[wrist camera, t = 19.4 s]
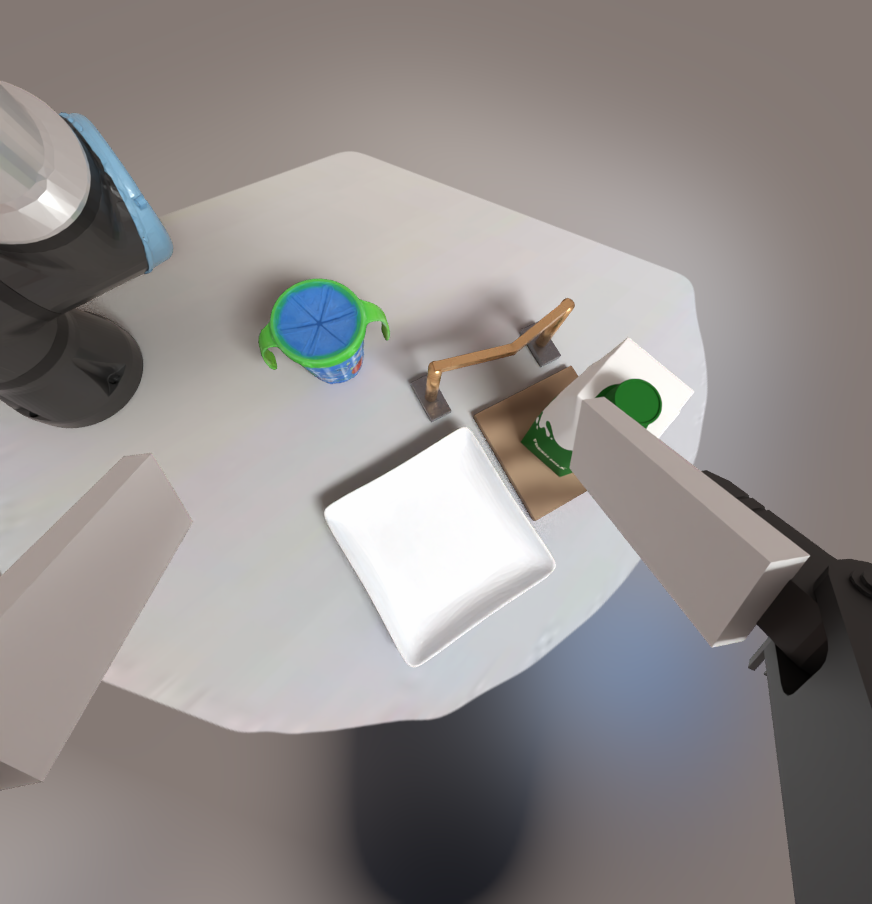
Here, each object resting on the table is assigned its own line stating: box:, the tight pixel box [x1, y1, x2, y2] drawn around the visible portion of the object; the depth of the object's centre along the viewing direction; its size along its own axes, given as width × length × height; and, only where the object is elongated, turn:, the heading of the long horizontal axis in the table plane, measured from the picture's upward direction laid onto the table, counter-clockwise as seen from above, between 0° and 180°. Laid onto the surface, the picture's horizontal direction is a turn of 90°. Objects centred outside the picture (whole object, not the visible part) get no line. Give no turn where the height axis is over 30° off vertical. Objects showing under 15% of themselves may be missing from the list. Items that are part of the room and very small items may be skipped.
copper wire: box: [411, 298, 575, 422], centre depth 46 cm, size 6×21×10 cm, turn 118°
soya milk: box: [521, 337, 694, 477], centre depth 39 cm, size 9×9×20 cm
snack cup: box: [258, 279, 390, 384], centre depth 45 cm, size 16×10×10 cm
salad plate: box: [324, 427, 556, 667], centre depth 45 cm, size 21×21×3 cm
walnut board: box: [474, 366, 587, 521], centre depth 49 cm, size 16×16×1 cm
